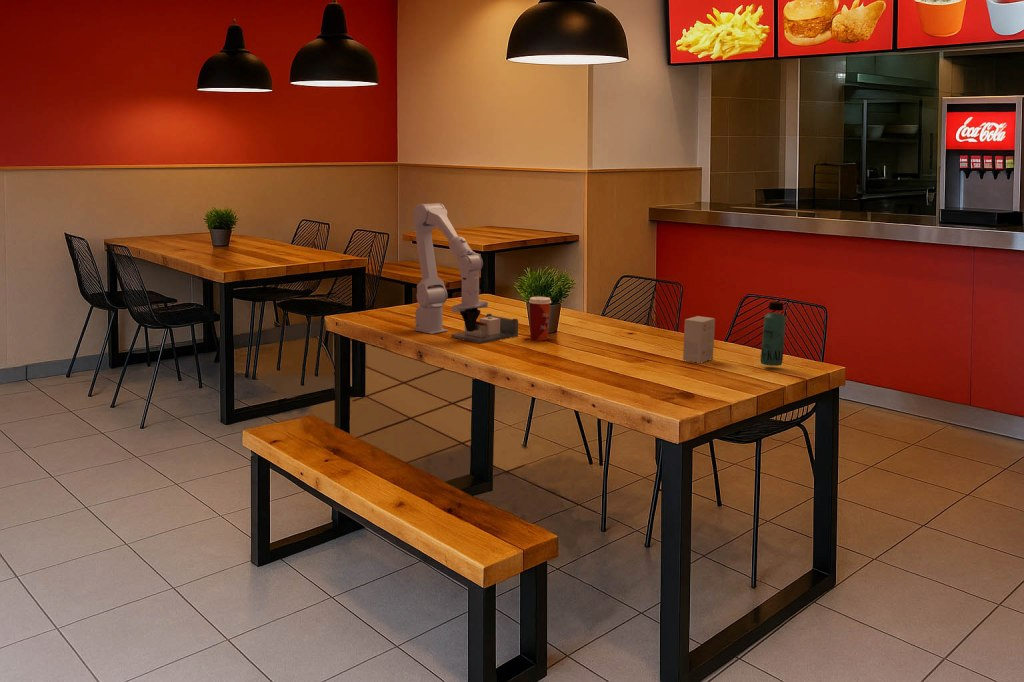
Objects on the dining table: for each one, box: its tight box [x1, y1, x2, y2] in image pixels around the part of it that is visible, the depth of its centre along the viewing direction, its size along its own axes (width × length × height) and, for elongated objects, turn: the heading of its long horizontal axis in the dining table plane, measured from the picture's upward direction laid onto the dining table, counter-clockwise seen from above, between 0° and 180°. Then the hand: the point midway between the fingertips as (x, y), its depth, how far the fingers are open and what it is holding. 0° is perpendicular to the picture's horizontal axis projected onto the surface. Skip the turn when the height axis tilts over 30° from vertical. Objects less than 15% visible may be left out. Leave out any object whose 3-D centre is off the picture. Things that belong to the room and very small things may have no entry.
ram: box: [464, 320, 488, 338], centre depth 310 cm, size 9×3×5 cm, turn 47°
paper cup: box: [528, 296, 552, 342], centre depth 310 cm, size 8×8×14 cm
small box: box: [682, 315, 716, 364], centre depth 283 cm, size 8×6×13 cm
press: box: [450, 313, 519, 344], centre depth 313 cm, size 14×18×6 cm
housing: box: [479, 316, 500, 335], centre depth 315 cm, size 5×5×6 cm
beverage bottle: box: [760, 301, 787, 367], centre depth 273 cm, size 6×7×20 cm
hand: (470, 331), depth 308 cm, fingers closed
